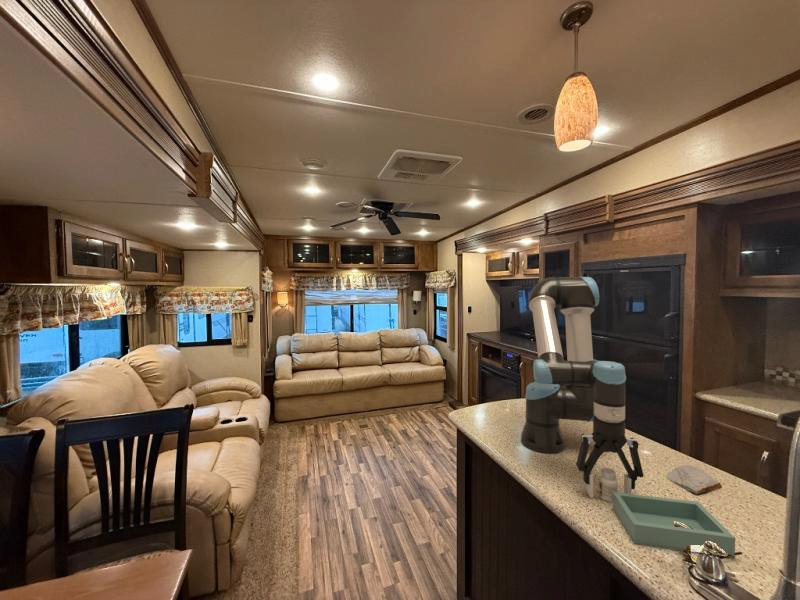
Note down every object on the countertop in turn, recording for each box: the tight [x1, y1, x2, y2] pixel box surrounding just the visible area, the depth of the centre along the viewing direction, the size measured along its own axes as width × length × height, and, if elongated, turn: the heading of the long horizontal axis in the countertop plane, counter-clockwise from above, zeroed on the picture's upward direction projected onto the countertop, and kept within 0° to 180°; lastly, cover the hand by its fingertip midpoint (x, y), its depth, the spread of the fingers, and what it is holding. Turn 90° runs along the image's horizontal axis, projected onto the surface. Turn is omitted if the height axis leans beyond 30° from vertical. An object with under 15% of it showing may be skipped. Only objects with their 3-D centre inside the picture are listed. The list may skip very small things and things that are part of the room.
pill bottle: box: [598, 467, 619, 503], centre depth 92 cm, size 4×4×8 cm
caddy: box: [612, 492, 736, 559], centre depth 79 cm, size 12×19×5 cm, turn 76°
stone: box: [666, 464, 723, 495], centre depth 98 cm, size 10×12×4 cm
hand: (608, 497), depth 91 cm, fingers open, 9 cm apart
